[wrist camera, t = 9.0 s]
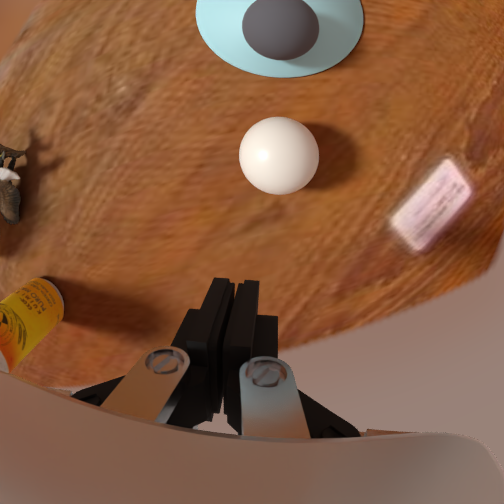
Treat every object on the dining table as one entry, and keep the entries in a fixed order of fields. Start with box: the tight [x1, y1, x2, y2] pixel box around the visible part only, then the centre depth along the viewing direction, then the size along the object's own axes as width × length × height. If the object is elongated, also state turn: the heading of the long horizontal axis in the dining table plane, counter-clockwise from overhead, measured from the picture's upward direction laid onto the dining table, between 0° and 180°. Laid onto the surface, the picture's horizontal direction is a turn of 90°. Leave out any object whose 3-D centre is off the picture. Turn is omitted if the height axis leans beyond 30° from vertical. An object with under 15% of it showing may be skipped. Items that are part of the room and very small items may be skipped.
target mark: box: [196, 0, 363, 78], centre depth 18 cm, size 14×14×1 cm
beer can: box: [0, 278, 64, 373], centre depth 22 cm, size 6×6×15 cm
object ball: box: [242, 0, 319, 60], centre depth 16 cm, size 6×6×6 cm
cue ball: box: [239, 117, 319, 195], centre depth 20 cm, size 6×6×6 cm
